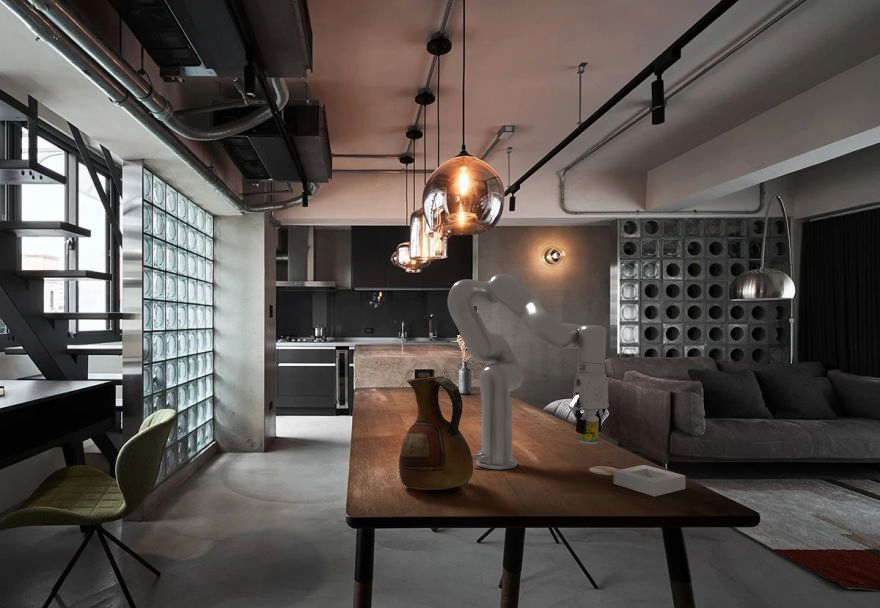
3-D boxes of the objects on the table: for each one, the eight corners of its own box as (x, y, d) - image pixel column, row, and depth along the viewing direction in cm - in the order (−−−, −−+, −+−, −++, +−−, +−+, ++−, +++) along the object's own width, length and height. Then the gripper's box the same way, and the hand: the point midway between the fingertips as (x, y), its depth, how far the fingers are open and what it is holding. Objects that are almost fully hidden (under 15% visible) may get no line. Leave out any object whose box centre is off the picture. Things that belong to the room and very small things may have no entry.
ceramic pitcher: (423, 473, 157) (424, 371, 158) (485, 484, 147) (486, 374, 148) (383, 491, 140) (384, 375, 142) (450, 504, 130) (451, 380, 131)
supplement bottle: (598, 441, 155) (599, 408, 155) (597, 445, 150) (599, 411, 150) (578, 439, 157) (580, 406, 157) (577, 443, 151) (579, 409, 152)
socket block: (654, 496, 138) (654, 482, 138) (613, 483, 149) (613, 470, 149) (685, 488, 145) (685, 475, 145) (644, 477, 156) (644, 464, 156)
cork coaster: (612, 478, 156) (612, 476, 156) (584, 472, 162) (584, 470, 162) (625, 472, 162) (625, 470, 162) (598, 466, 168) (598, 464, 169)
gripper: (579, 370, 146) (576, 437, 146) (621, 369, 155) (619, 432, 155) (559, 367, 152) (556, 431, 152) (601, 366, 161) (599, 427, 161)
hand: (588, 431), depth 153 cm, fingers closed on supplement bottle, 5 cm apart
